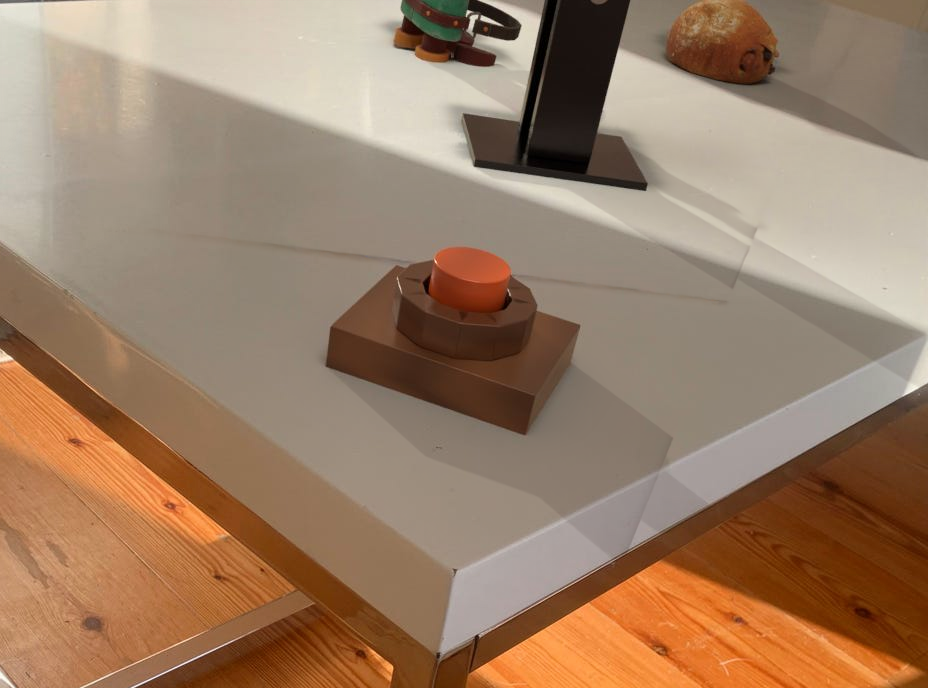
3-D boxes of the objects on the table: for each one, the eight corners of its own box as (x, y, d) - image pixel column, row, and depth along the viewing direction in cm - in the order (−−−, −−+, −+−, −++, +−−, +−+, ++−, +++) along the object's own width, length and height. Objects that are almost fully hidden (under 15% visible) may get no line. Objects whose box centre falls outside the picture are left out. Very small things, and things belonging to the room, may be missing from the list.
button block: (570, 363, 57) (590, 291, 54) (525, 436, 51) (544, 359, 48) (390, 303, 59) (401, 231, 56) (325, 367, 53) (334, 289, 50)
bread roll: (697, 86, 115) (689, 1, 112) (796, 71, 109) (790, -20, 106) (654, 102, 108) (644, 11, 105) (756, 86, 102) (749, -11, 99)
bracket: (617, 152, 84) (671, -51, 75) (643, 200, 77) (706, -17, 68) (459, 129, 82) (496, -83, 73) (471, 176, 75) (514, -51, 66)
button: (513, 295, 54) (521, 261, 53) (489, 325, 51) (497, 289, 50) (443, 273, 54) (449, 239, 53) (416, 301, 51) (422, 265, 50)
